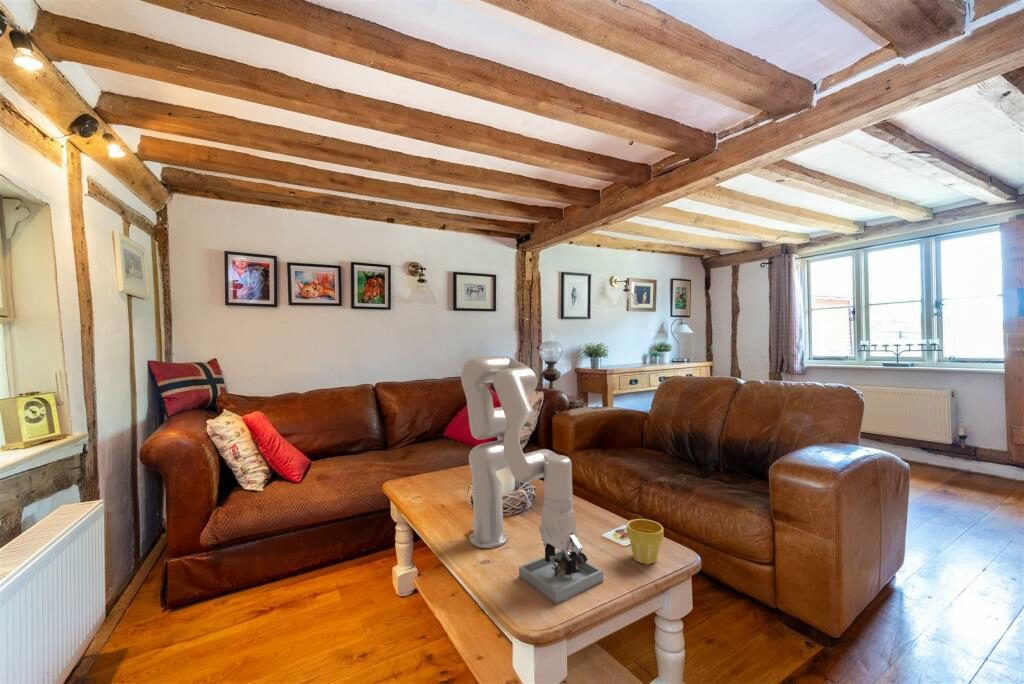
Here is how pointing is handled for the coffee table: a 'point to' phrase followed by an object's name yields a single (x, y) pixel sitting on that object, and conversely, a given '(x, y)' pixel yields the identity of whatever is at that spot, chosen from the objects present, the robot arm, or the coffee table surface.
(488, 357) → the robot arm
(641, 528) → the plant pot
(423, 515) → the coffee table surface
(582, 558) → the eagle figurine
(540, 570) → the bin
